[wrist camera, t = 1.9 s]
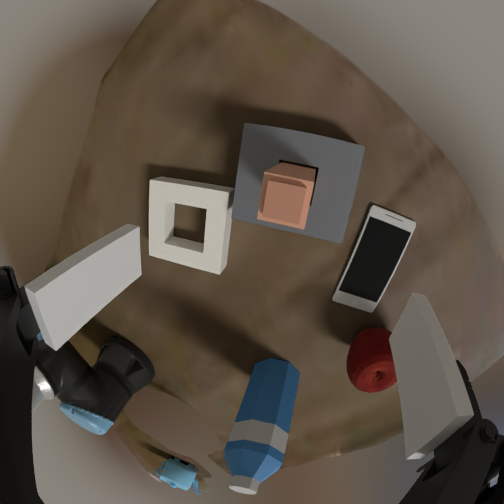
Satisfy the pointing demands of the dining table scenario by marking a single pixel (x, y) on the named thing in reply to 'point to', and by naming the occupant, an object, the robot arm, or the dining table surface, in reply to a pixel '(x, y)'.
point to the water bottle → (262, 425)
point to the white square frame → (216, 228)
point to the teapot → (179, 474)
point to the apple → (371, 361)
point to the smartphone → (374, 259)
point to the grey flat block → (308, 153)
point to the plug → (287, 194)
